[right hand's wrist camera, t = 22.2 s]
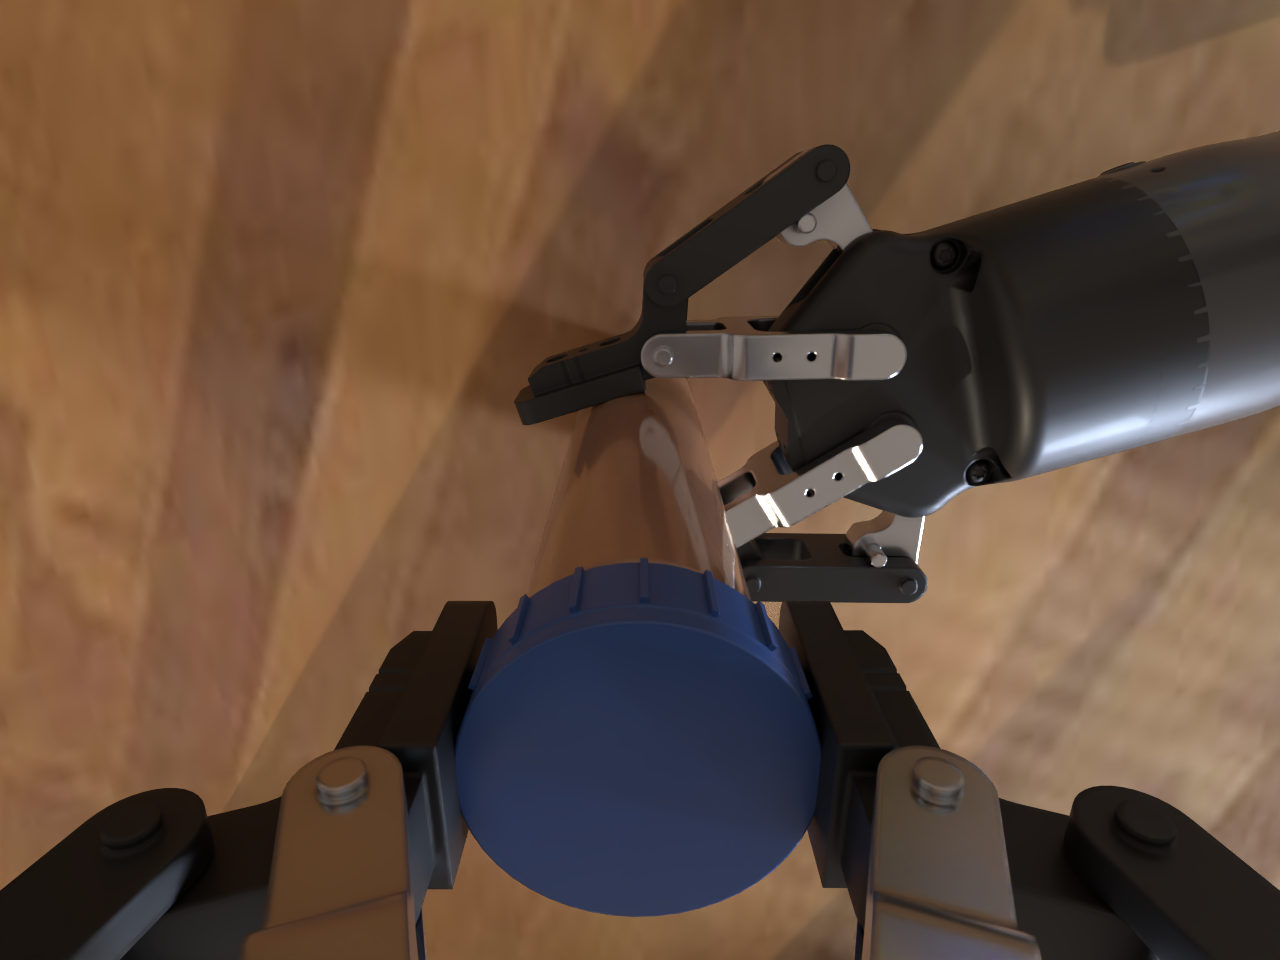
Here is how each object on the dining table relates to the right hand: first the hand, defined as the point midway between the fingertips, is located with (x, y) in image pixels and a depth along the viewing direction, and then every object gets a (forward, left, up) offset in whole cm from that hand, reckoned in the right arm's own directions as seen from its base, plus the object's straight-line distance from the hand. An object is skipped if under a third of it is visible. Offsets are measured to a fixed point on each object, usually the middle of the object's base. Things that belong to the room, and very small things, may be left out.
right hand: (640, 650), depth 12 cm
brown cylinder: (0, 0, -17) cm, 17 cm away
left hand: (-1, +3, -11) cm, 11 cm away
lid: (0, 0, +3) cm, 3 cm away
